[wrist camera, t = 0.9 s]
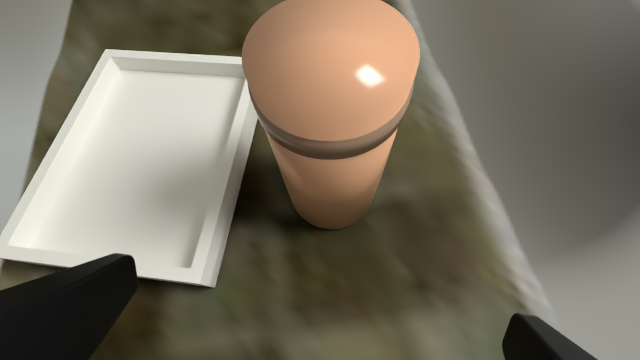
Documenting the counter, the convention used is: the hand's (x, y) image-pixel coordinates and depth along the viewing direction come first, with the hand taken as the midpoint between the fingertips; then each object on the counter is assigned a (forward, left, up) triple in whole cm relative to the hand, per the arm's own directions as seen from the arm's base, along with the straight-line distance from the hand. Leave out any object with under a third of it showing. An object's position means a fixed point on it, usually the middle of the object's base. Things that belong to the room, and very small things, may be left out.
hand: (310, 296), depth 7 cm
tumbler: (+8, 0, -13) cm, 16 cm away
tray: (+9, +15, -13) cm, 22 cm away
